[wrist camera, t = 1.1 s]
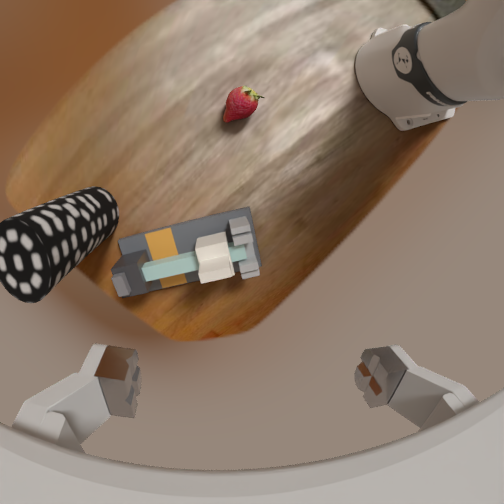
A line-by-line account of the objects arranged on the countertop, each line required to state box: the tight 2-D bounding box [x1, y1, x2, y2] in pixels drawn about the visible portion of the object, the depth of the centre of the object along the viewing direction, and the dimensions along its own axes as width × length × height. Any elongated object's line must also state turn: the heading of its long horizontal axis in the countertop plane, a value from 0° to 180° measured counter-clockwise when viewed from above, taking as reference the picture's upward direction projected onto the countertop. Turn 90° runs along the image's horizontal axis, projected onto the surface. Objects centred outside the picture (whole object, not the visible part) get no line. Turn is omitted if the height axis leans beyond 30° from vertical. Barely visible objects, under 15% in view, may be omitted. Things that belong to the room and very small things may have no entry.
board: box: [118, 207, 262, 292], centre depth 41 cm, size 20×9×1 cm, turn 101°
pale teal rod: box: [142, 242, 247, 282], centre depth 37 cm, size 16×2×2 cm, turn 101°
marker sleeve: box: [195, 232, 235, 284], centre depth 35 cm, size 4×5×9 cm
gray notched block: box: [229, 216, 260, 279], centre depth 38 cm, size 2×7×6 cm, turn 11°
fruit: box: [223, 85, 264, 122], centre depth 33 cm, size 4×6×5 cm
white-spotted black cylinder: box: [0, 187, 119, 303], centre depth 28 cm, size 8×8×20 cm
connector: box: [111, 249, 153, 298], centre depth 37 cm, size 4×4×7 cm
